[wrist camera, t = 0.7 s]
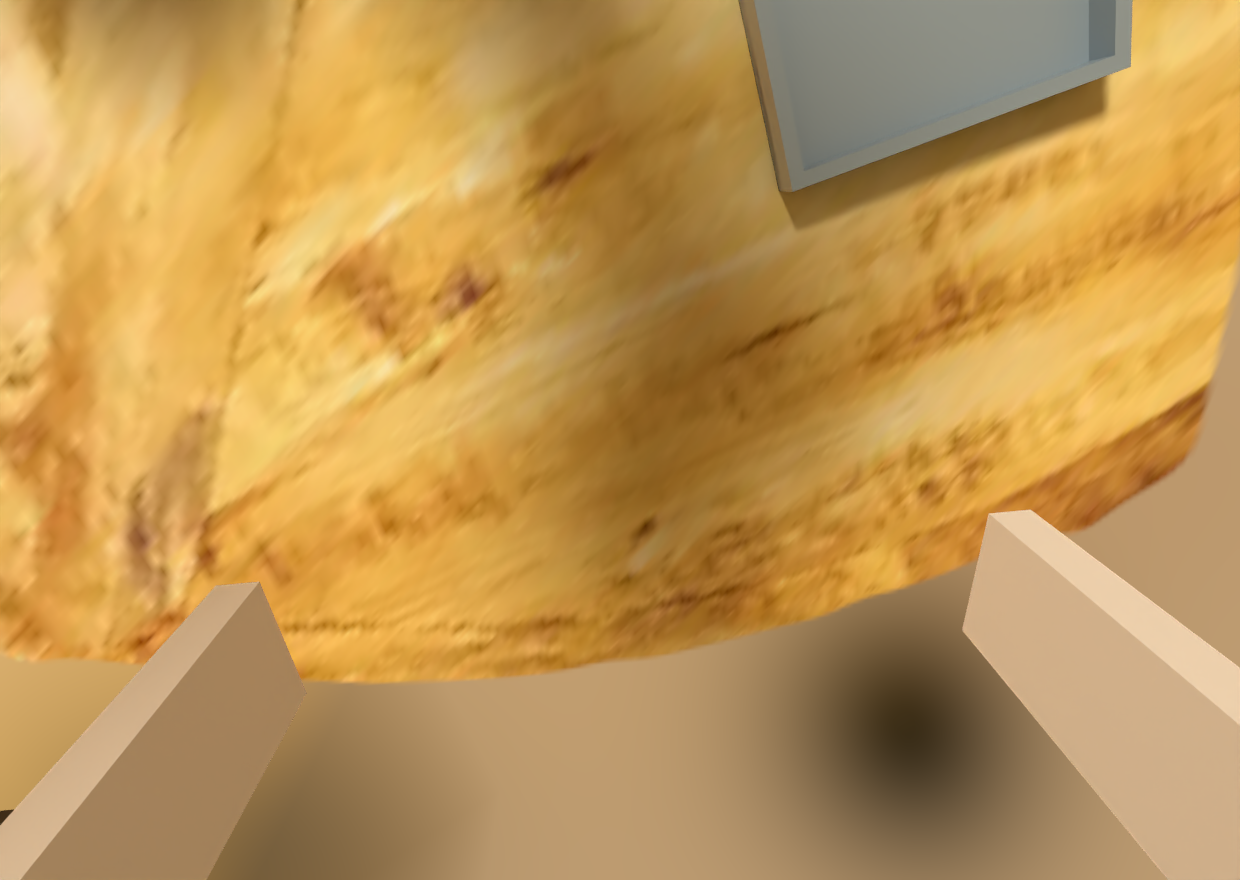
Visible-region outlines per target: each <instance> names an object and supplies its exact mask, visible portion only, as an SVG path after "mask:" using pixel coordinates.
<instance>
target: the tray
mask: <svg viewBox="0 0 1240 880" xmlns="http://www.w3.org/2000/svg"><path fill="white" fill-rule="evenodd" d="M739 4H740V9H741V14H742V19H743V23H744V28H745V33H746V38H747V42H748V47H749V52H750V56H751V61H752V66H753V71H754V75H755V80H756V85H757V89H758V94H759V99H760V104H761V108H762V113H763V118H764V123H765V127H766V132H767V137H768V141H769V146H770V151H771V156H772V160H773V165H774V170H775V174H776V179H777V184H778V189H779V191H786V192H794V191H797V190H799V189H802V188H805V187H807V186H810V185H813V184H815V183H818V182H821V181H824V180H826V179H829V178H832V177H834V176H837V175H840V174H842V173H845V172H848V171H851V170H853V169H856V168H859V167H861V166H864V165H867V164H869V163H872V162H875V161H878V160H880V159H883V158H886V157H888V156H891V155H894V154H896V153H899V152H902V151H904V150H907V149H910V148H913V147H915V146H918V145H921V144H923V143H926V142H929V141H931V140H934V139H937V138H940V137H942V136H945V135H948V134H950V133H953V132H956V131H958V130H961V129H964V128H967V127H969V126H972V125H975V124H977V123H980V122H983V121H985V120H988V119H991V118H994V117H996V116H999V115H1002V114H1004V113H1007V112H1010V111H1012V110H1015V109H1018V108H1020V107H1023V106H1026V105H1029V104H1031V103H1034V102H1037V101H1039V100H1042V99H1045V98H1047V97H1050V96H1053V95H1056V94H1058V93H1061V92H1064V91H1066V90H1069V89H1072V88H1074V87H1077V86H1080V85H1083V84H1085V83H1088V82H1091V81H1093V80H1096V79H1099V78H1101V77H1104V76H1107V75H1110V74H1112V73H1115V72H1118V71H1120V70H1123V69H1126V68H1128V67H1131V33H1132V0H739Z"/></svg>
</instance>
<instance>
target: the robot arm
mask: <svg viewBox="0 0 1240 880" xmlns="http://www.w3.org/2000/svg"><path fill="white" fill-rule="evenodd" d="M962 631H963V632H964V633H965V634H966V635H967V637H968V638H969V639H970V640H971V641H972V642H973V644H974V645H975V646H976V648H978V650H979V651H980V652H981V654H982V655H983V656H984V657H985V658H986V660H987V661H988V662H989V663H990V664H991V666H992V667H993V668H994V669H995V671H996V672H997V673H998V674H999V675H1000V677H1001V678H1002V679H1003V680H1004V681H1005V683H1006V684H1007V685H1008V686H1009V687H1010V689H1011V690H1012V691H1013V692H1014V694H1015V695H1016V696H1017V697H1018V698H1019V700H1020V701H1021V702H1022V703H1023V704H1024V706H1025V707H1026V708H1027V709H1028V710H1029V712H1030V713H1031V714H1032V715H1033V717H1034V718H1035V719H1036V720H1037V721H1038V723H1039V724H1040V725H1041V726H1042V728H1043V729H1044V730H1045V731H1046V732H1047V734H1048V735H1049V736H1050V737H1051V738H1052V740H1053V741H1054V742H1055V743H1056V745H1057V746H1058V747H1059V748H1060V749H1061V751H1062V752H1063V753H1064V754H1065V755H1066V756H1067V758H1068V759H1069V760H1070V762H1071V763H1072V764H1073V765H1074V766H1075V768H1076V769H1077V770H1078V771H1079V772H1080V774H1081V775H1082V776H1083V777H1084V778H1085V780H1086V781H1087V782H1088V783H1089V784H1090V786H1091V787H1092V788H1093V789H1094V790H1095V792H1096V793H1097V794H1098V796H1099V797H1100V798H1101V799H1102V800H1103V802H1104V803H1105V804H1106V805H1107V806H1108V808H1109V809H1110V810H1111V811H1112V812H1113V813H1114V815H1115V816H1116V817H1117V819H1118V820H1119V821H1120V822H1121V823H1122V824H1123V826H1124V827H1125V828H1126V829H1127V830H1128V832H1129V833H1130V834H1131V836H1132V837H1133V838H1134V839H1135V840H1136V841H1137V843H1138V844H1139V845H1140V846H1141V848H1142V849H1143V850H1144V851H1145V853H1146V854H1147V855H1148V856H1149V857H1150V858H1151V860H1152V861H1153V862H1154V863H1155V865H1156V866H1157V867H1158V868H1159V870H1160V871H1161V872H1162V873H1163V874H1164V875H1165V877H1166V878H1167V879H1168V880H1240V668H1239V667H1238V666H1237V665H1235V664H1234V663H1233V662H1231V661H1230V660H1229V659H1227V658H1226V657H1225V656H1224V655H1222V654H1221V653H1220V652H1218V651H1217V650H1216V649H1214V648H1213V647H1212V646H1210V645H1209V644H1207V643H1206V642H1204V640H1202V639H1201V638H1200V637H1198V636H1197V635H1195V634H1194V633H1193V632H1192V631H1190V630H1189V629H1187V628H1186V627H1185V626H1184V625H1182V624H1181V623H1180V622H1178V621H1177V620H1176V619H1175V618H1173V617H1172V616H1171V615H1169V614H1168V613H1167V612H1165V611H1164V610H1162V609H1161V608H1160V607H1159V606H1157V605H1156V604H1154V603H1153V602H1152V601H1150V600H1149V599H1148V598H1147V597H1145V596H1144V595H1143V594H1141V593H1140V592H1139V591H1137V590H1136V589H1135V588H1133V587H1132V586H1131V585H1129V584H1128V583H1127V582H1126V581H1124V580H1123V579H1122V578H1120V577H1119V576H1118V575H1116V574H1115V573H1114V572H1112V571H1111V570H1110V569H1108V568H1107V567H1106V566H1104V565H1103V564H1102V563H1100V562H1099V561H1098V560H1096V559H1095V558H1094V557H1092V556H1091V555H1090V554H1088V553H1087V552H1086V551H1084V550H1083V549H1082V548H1081V547H1079V546H1078V545H1077V544H1075V543H1074V542H1073V541H1071V540H1070V539H1069V538H1067V537H1066V536H1065V535H1063V534H1062V533H1061V532H1059V531H1058V530H1057V529H1055V528H1054V527H1053V526H1051V525H1050V524H1049V523H1047V522H1046V521H1045V520H1043V519H1042V518H1041V517H1039V516H1038V515H1037V514H1036V513H1034V512H1033V511H1032V510H1022V511H1012V512H1001V513H990V514H989V515H988V520H987V524H986V528H985V533H984V537H983V542H982V546H981V550H980V555H979V559H978V563H977V568H976V572H975V576H974V581H973V585H972V589H971V594H970V599H969V602H968V607H967V611H966V616H965V620H964V624H963V628H962ZM305 696H306V691H305V688H304V686H303V684H302V681H301V679H300V677H299V674H298V672H297V669H296V667H295V665H294V662H293V660H292V658H291V655H290V653H289V651H288V648H287V646H286V643H285V641H284V639H283V636H282V634H281V632H280V629H279V627H278V625H277V622H276V620H275V617H274V615H273V613H272V610H271V608H270V606H269V603H268V601H267V598H266V596H265V594H264V591H263V589H262V587H261V584H260V582H251V583H240V584H230V585H219V586H215V587H214V588H213V590H212V591H211V592H210V593H209V594H208V595H207V596H206V597H205V598H204V600H203V601H202V602H201V603H200V604H199V605H198V606H197V607H196V608H195V610H194V611H193V612H192V613H191V614H190V615H189V616H188V617H187V618H186V620H185V621H184V622H183V623H182V624H181V625H180V626H179V627H178V628H177V630H176V631H175V632H174V633H173V634H172V635H171V636H170V637H169V638H168V640H167V641H166V642H165V643H164V644H163V645H162V646H161V647H160V648H159V650H158V651H157V652H156V653H155V654H154V655H153V656H152V657H151V658H150V660H149V661H148V662H147V663H146V664H145V665H144V666H143V667H142V668H141V670H140V671H139V672H138V673H137V674H136V675H135V676H134V677H133V678H132V680H131V681H130V682H129V683H128V684H127V685H126V686H125V687H124V688H123V690H122V691H121V692H120V693H119V694H118V695H117V696H116V697H115V698H114V700H113V701H112V702H111V703H110V704H109V705H108V706H107V707H106V708H105V710H104V711H103V712H102V713H101V714H100V715H99V716H98V717H97V718H96V720H95V721H94V722H93V723H92V724H91V725H90V726H89V727H88V728H87V730H86V731H85V732H84V733H83V734H82V735H81V736H80V737H79V738H78V740H77V741H76V742H75V743H74V744H73V745H72V746H71V747H70V748H69V750H68V751H67V752H66V753H65V754H64V755H63V756H62V757H61V758H60V760H59V761H58V762H57V763H56V764H55V765H54V766H53V767H52V768H51V770H50V771H49V772H48V773H47V774H46V775H45V776H44V777H43V779H42V780H41V781H40V782H39V783H38V784H37V785H36V786H35V787H34V788H33V790H32V791H31V792H30V793H29V794H28V795H27V796H26V797H25V798H24V800H23V801H22V802H21V803H20V804H19V805H18V806H17V807H16V808H15V809H14V810H4V811H0V880H206V879H207V878H208V876H209V874H210V872H211V870H212V868H213V866H214V865H215V863H216V861H217V859H218V857H219V855H220V853H221V852H222V850H223V848H224V846H225V844H226V842H227V840H228V838H229V836H230V835H231V833H232V831H233V829H234V827H235V826H236V824H237V822H238V820H239V818H240V816H241V814H242V813H243V811H244V809H245V807H246V805H247V803H248V801H249V800H250V798H251V796H252V794H253V792H254V790H255V788H256V786H257V785H258V783H259V781H260V779H261V777H262V775H263V774H264V772H265V770H266V768H267V766H268V764H269V762H270V761H271V759H272V757H273V755H274V753H275V751H276V749H277V747H278V746H279V744H280V742H281V740H282V738H283V736H284V734H285V733H286V731H287V729H288V727H289V725H290V723H291V722H292V720H293V718H294V716H295V714H296V712H297V710H298V708H299V707H300V705H301V703H302V701H303V699H304V697H305Z"/></svg>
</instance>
